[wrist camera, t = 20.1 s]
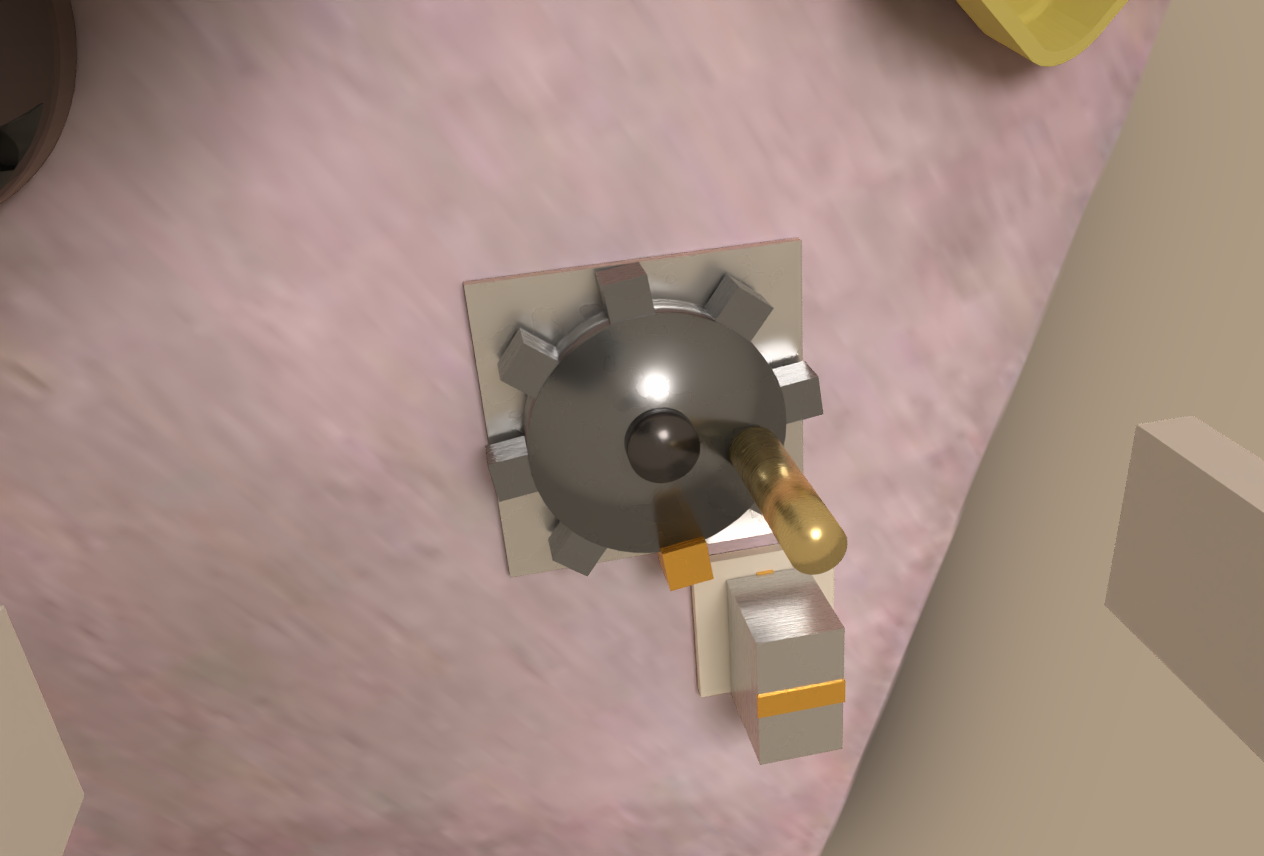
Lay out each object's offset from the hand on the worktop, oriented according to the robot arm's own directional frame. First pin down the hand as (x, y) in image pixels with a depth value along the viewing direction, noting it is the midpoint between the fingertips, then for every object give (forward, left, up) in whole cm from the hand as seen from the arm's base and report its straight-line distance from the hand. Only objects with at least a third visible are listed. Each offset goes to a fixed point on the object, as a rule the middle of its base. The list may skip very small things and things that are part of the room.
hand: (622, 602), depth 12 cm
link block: (+10, -25, -30) cm, 40 cm away
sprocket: (+5, -12, -30) cm, 33 cm away
